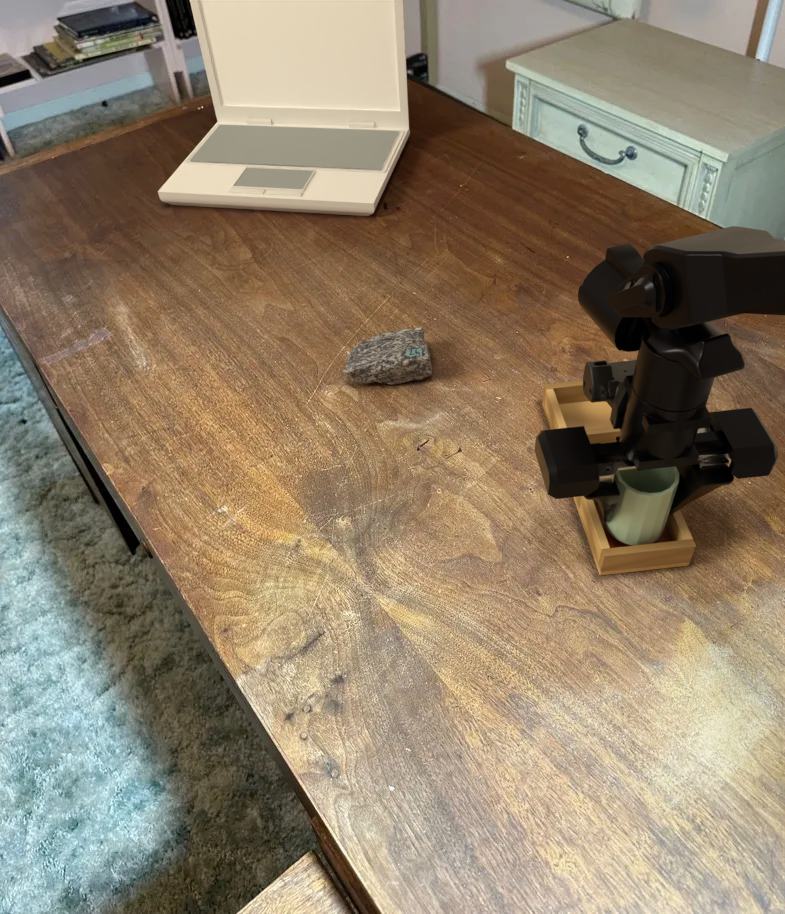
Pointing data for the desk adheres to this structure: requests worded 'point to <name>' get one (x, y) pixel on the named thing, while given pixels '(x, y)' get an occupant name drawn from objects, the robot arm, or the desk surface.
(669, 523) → the rack
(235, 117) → the laptop
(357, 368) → the rock
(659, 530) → the cup
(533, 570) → the desk surface
